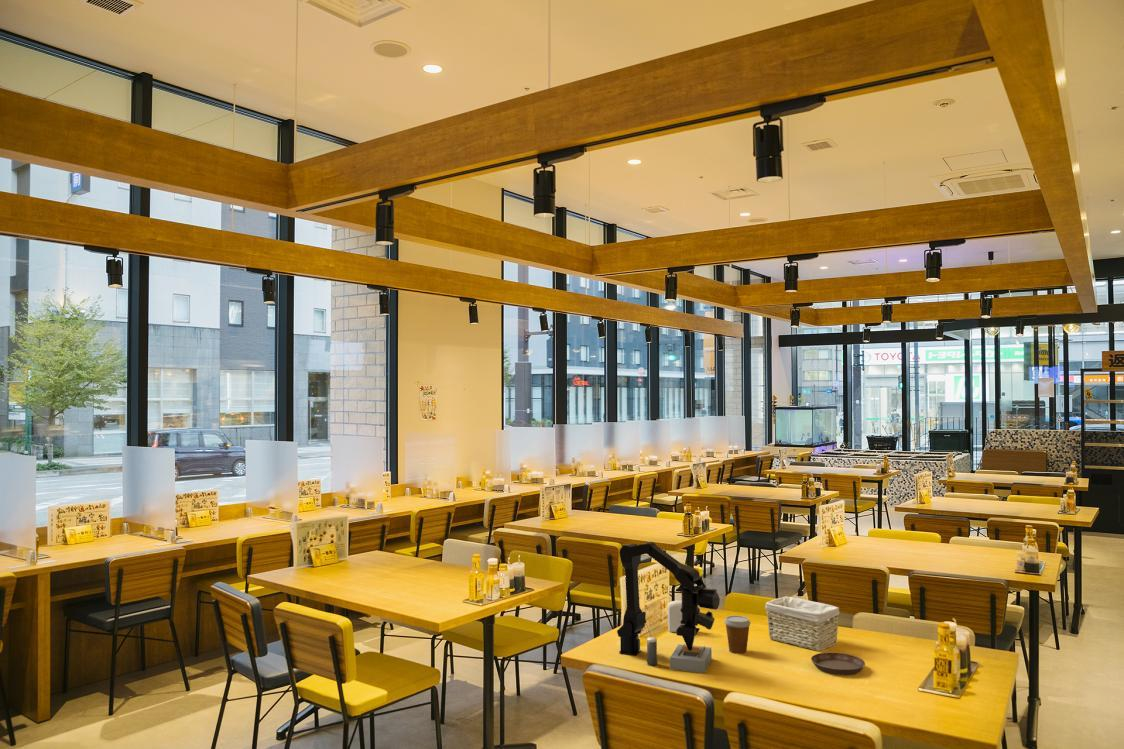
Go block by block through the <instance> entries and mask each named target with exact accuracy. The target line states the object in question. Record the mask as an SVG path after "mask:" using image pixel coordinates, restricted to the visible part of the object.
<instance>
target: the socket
mask: <svg viewBox="0 0 1124 749" xmlns="http://www.w3.org/2000/svg"><path fill="white" fill-rule="evenodd" d="M685 645H686V643H683V644H679V643H678V644H677V646H676V647H675V649H674V650H673V652H672V653H671V655H670V657H669V670H673V671H683V672H689V673H690V672H692V673H701V674H706V671H707V669H708V667H709V665H710V663H711V661H712V656H713V655H712V647H711V646H710V647H709V646H705V645H703V646H702V649H701V651H700V653H696V652H686V651H682V646H685Z"/></svg>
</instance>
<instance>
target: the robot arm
mask: <svg viewBox="0 0 1124 749" xmlns="http://www.w3.org/2000/svg"><path fill="white" fill-rule="evenodd" d="M618 554H619V558H620V563H621V564H622V566H623V568H624V577H625V576H626V577H625V578H624V580H625V581H624V582H625V597H626V598H625V599H626V609H625V612H624V615H623V622H622V625H621V627H619V628H618V629H617V631H616V633H617V636H618V638H620V650H619V651H618V652H619V654H622V655H623V654H624V655H630V656H631V655H632V656H637V654H638V653H639V652H640V651H641V639H640V636H639V635H640V634H641V633H642V630H643V629H644V628H645V626H646V623H647V620H646V617H647V615H646V611H643V610H642V608H641V605H640V591H639V590H640V588H639V566H640V562H641V557H642V556H643V555H648V556H649V557H650V558H652V559H653V560H654V561H655V562H657V563H658V564H659V565H660V566H662V567H663V568H665V569H667V571H669V572H670V573H671V574H673V577H674V578H675V580H676V581H677V582H678V583H679V586H678V587H677V588H676V589H675V592H677V593H681V600H682V608H681V612H682V620H681V624H684V625H680V626H679V627H678V628H677V630H676V632H675V633H676V636H679V637H682V638H683V641H684V644H685V645H687V648H688V650H692V647H693V645H694V642H695V637H696V635H697V634H698V633H699V631H700V629H701V628H699V627H698V625H700V626H702V627H704V628H705V629H707V630H709V631H710V630H711V629H712V628H713V625H714V622H715V619H716V618H715V617H714V616H713V612H712V611H707V612H701V609H700V608H703V609H709V610H718V608H719V606H720V600H721V598H720V596H719V594H718V591H717V589H715V588H707V585H706V584H705V583H704V582H705V581H704V580H702V578H701V575H700V572H699V571H698V570H697V569H696V568H694V567H692V566H690V565H687V564H684V563H682V562H680V561H679V560H677V559H676V558H674V557H673V556H672V555H670V554H669V553H667V551H665V550H663V549H662V548H661V547H659V546H658V545H657V544H656V543H655V542H653V541H649V542H645V543H642V544H641V543H640V544H637V543H628V544H626V545H623V546H621V547H620V549H619V553H618Z"/></svg>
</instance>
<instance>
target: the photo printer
mask: <svg viewBox="0 0 1124 749" xmlns="http://www.w3.org/2000/svg"><path fill="white" fill-rule="evenodd" d="M681 608H682V599H681V600H672V601H670V602H668V605H667V626H668V627H667V628H668V631H667V632H669V633H677V632H676V630H677V628H678V627H679V626H680V625H684V624H681V620H682V612H681Z"/></svg>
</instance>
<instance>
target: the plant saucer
mask: <svg viewBox="0 0 1124 749" xmlns="http://www.w3.org/2000/svg"><path fill="white" fill-rule="evenodd" d="M810 660H811V662H812V663H813V664H814V666H815V668H817V669H818V670H819V671H821V672H823V673H826V674H829V675H836V676H853V675H857V674H858V673H860V672H861V671H862V670H863V669H864V667H865V666H866V662H865V661H864V659H862V658H861V657H858V656H855V655H852V654H849V653H842V652H821V653H816V654H814V655H812V656H811V657H810Z"/></svg>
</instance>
